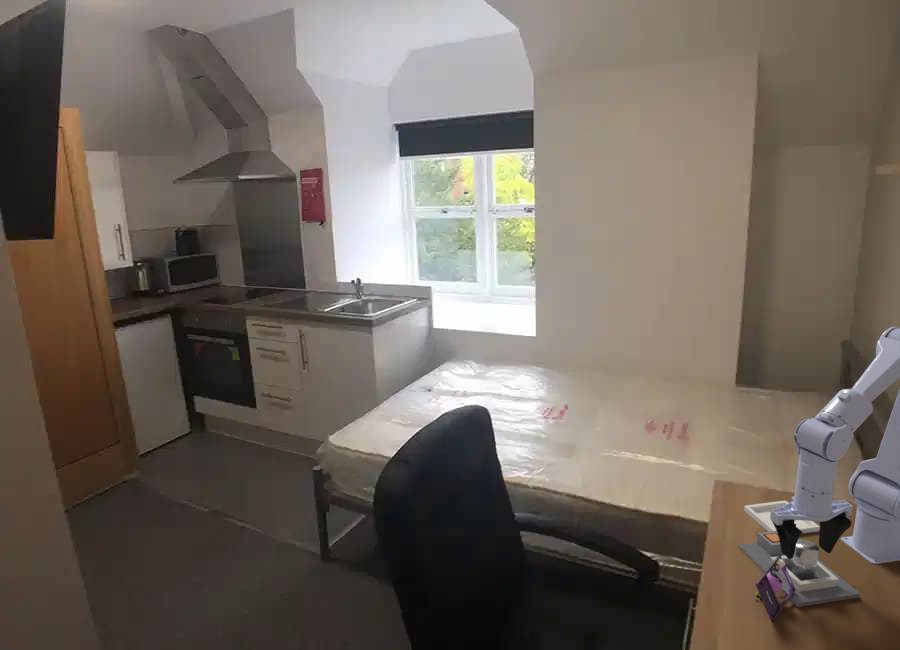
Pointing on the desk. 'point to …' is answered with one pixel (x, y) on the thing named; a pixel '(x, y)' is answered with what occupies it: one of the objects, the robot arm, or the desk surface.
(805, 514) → the robot arm
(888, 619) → the desk surface
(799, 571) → the cylinder
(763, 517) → the tray
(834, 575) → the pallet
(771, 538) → the button
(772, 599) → the eggplant monster toy
